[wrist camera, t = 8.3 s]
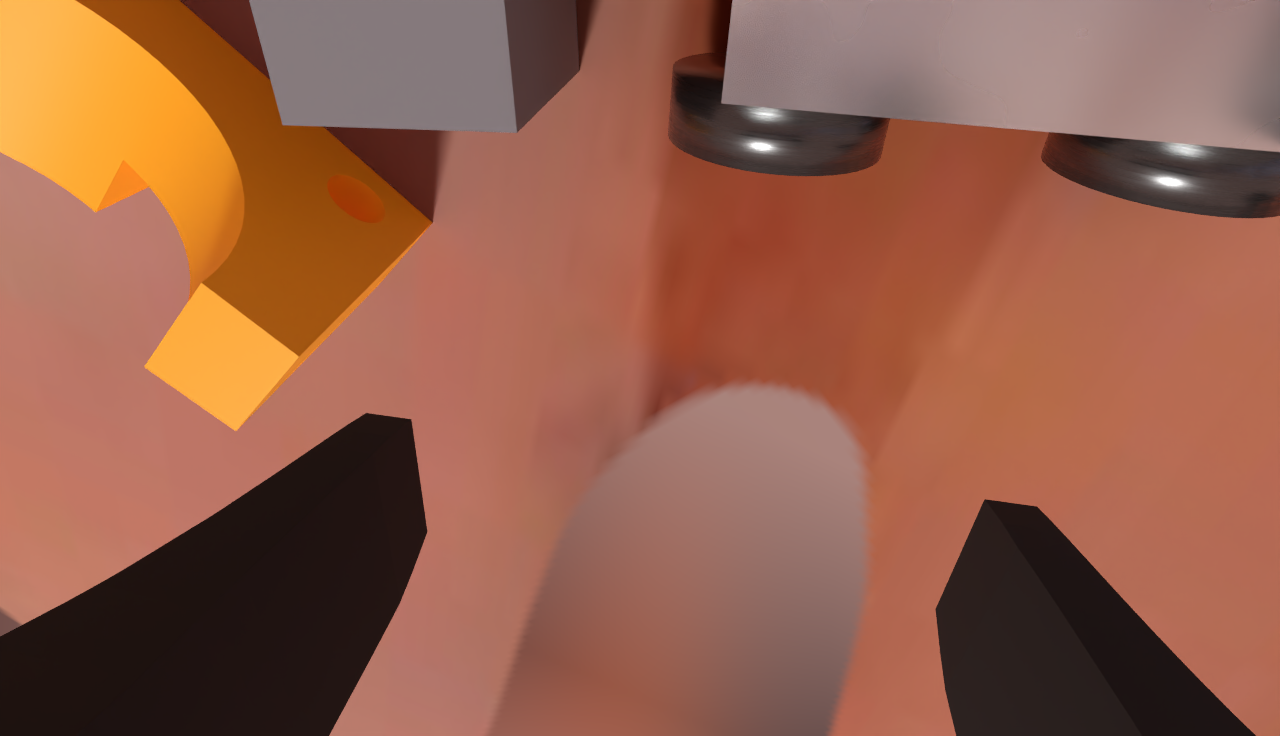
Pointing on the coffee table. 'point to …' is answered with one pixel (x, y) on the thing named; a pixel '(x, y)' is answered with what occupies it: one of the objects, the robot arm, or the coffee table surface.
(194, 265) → the pipe clamp
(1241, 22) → the trolley
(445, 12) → the block
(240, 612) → the robot arm
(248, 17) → the coffee table surface
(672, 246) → the coffee table surface
